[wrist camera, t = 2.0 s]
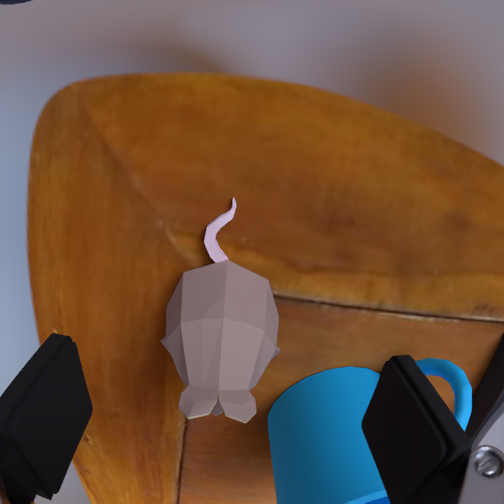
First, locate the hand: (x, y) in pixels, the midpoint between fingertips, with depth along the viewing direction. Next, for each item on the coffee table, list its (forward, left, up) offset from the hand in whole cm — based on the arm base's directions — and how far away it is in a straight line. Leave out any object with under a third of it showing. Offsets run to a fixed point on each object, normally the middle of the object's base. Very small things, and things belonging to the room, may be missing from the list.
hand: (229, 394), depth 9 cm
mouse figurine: (-1, 0, -7) cm, 7 cm away
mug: (+7, +8, -7) cm, 12 cm away
